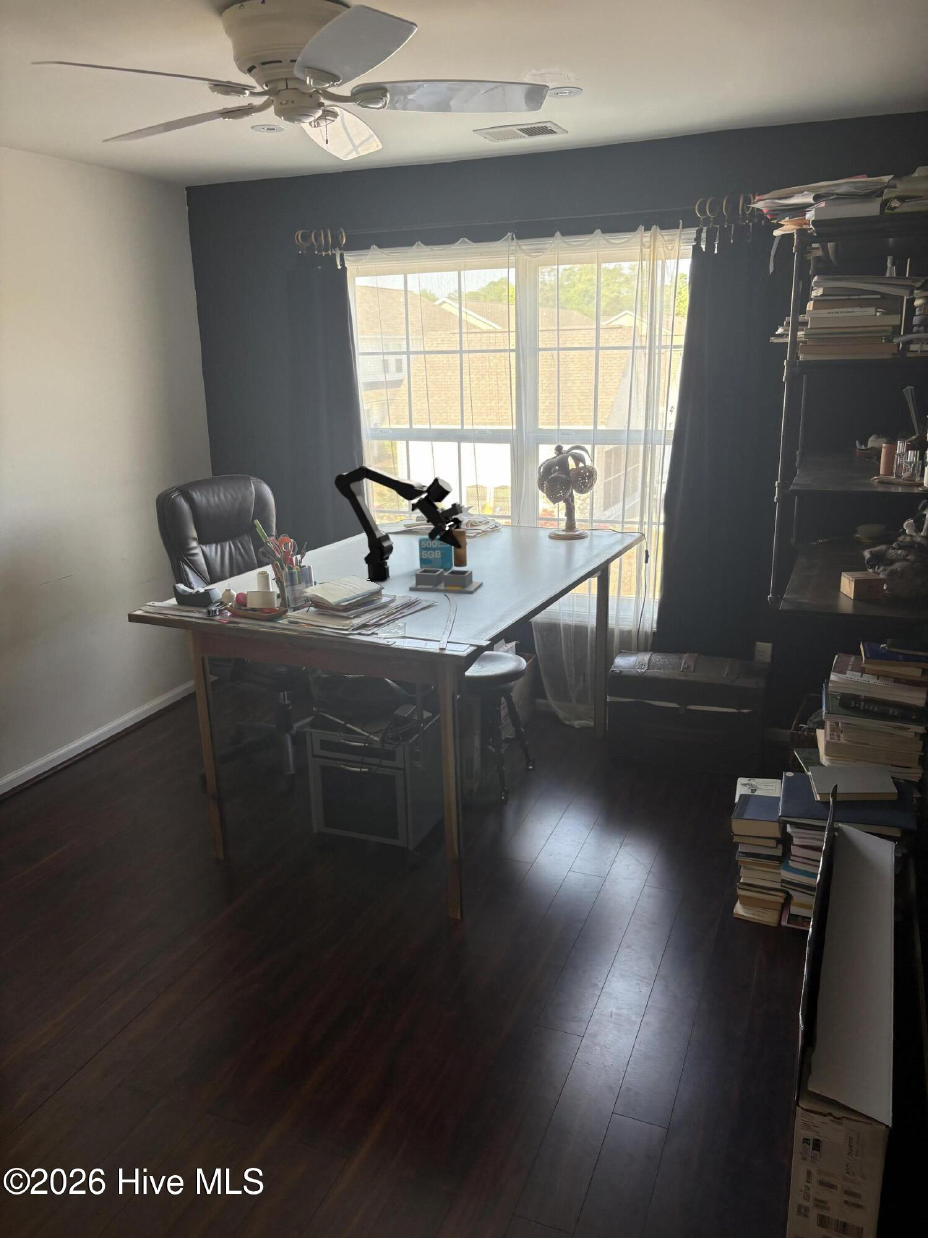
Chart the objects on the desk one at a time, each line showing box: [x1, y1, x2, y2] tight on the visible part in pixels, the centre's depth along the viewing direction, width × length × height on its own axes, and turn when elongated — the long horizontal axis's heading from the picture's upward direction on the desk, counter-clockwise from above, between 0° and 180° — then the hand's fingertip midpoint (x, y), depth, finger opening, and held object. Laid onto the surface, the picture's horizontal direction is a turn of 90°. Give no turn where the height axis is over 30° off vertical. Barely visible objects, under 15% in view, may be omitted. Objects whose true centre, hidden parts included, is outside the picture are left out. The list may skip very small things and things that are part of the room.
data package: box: [418, 535, 454, 570], centre depth 324 cm, size 12×4×12 cm, turn 94°
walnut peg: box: [452, 528, 468, 568], centre depth 297 cm, size 4×4×12 cm
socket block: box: [408, 568, 484, 595], centre depth 298 cm, size 22×12×5 cm, turn 73°
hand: (463, 546), depth 296 cm, fingers closed on walnut peg, 4 cm apart
